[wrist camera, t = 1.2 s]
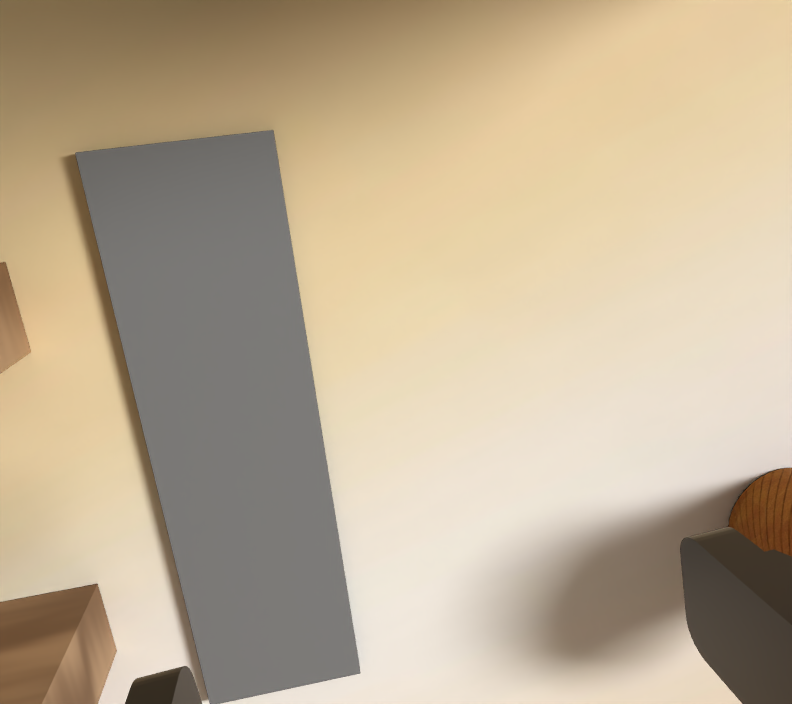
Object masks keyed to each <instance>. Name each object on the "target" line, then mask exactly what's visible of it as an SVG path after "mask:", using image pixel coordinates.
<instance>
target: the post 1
mask: <svg viewBox="0 0 792 704" xmlns="http://www.w3.org/2000/svg"><path fill="white" fill-rule="evenodd" d="M30 352H31V350H30V346H29V343H28V339H27V336H26V333H25V329H24V326H23V322H22V319H21V315H20V312H19V308H18V305H17V301H16V298H15V294H14V291H13V287H12V284H11V280H10V277H9V273H8V270H7V266H6V263H5V262H2V263H0V373H2V372H3V371H5V370H6V369H8V368H9V367H10V366H12V365H13V364H15V363H16V362H18V361H19V360H20V359H22V358H23V357H25V356H26V355H28V354H29V353H30Z"/></svg>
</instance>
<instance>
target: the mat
mask: <svg viewBox="0 0 792 704" xmlns="http://www.w3.org/2000/svg"><path fill="white" fill-rule="evenodd" d="M75 155H76V159H77V163H78V167H79V171H80V175H81V179H82V183H83V187H84V191H85V196H86V200H87V204H88V208H89V212H90V216H91V220H92V224H93V228H94V232H95V236H96V240H97V245H98V249H99V253H100V257H101V261H102V265H103V269H104V273H105V277H106V281H107V285H108V290H109V294H110V298H111V302H112V306H113V310H114V314H115V318H116V322H117V326H118V330H119V334H120V339H121V343H122V347H123V351H124V355H125V359H126V363H127V367H128V371H129V375H130V379H131V384H132V388H133V392H134V396H135V400H136V404H137V408H138V412H139V416H140V420H141V424H142V428H143V433H144V437H145V441H146V445H147V449H148V453H149V457H150V461H151V465H152V469H153V473H154V478H155V482H156V486H157V490H158V494H159V498H160V502H161V506H162V510H163V514H164V518H165V522H166V527H167V531H168V535H169V539H170V543H171V547H172V551H173V555H174V559H175V563H176V567H177V572H178V576H179V580H180V584H181V588H182V592H183V596H184V600H185V604H186V608H187V612H188V617H189V621H190V625H191V629H192V633H193V637H194V641H195V645H196V649H197V653H198V657H199V661H200V666H201V670H202V674H203V678H204V682H205V686H206V690H207V694H208V698H209V702H210V704H220V703H225V702H229V701H234V700H239V699H243V698H248V697H253V696H257V695H262V694H267V693H271V692H276V691H281V690H285V689H290V688H295V687H299V686H304V685H308V684H313V683H318V682H322V681H327V680H332V679H336V678H341V677H346V676H350V675H355V674H360V666H359V660H358V654H357V647H356V641H355V635H354V629H353V623H352V616H351V610H350V604H349V598H348V591H347V585H346V579H345V573H344V567H343V560H342V554H341V548H340V542H339V535H338V529H337V523H336V517H335V511H334V504H333V498H332V492H331V486H330V479H329V473H328V467H327V461H326V455H325V448H324V442H323V436H322V430H321V423H320V417H319V411H318V405H317V399H316V392H315V386H314V380H313V374H312V368H311V361H310V355H309V349H308V343H307V336H306V330H305V324H304V318H303V312H302V305H301V299H300V293H299V287H298V280H297V274H296V268H295V262H294V256H293V249H292V243H291V237H290V231H289V224H288V218H287V212H286V206H285V200H284V193H283V187H282V181H281V175H280V168H279V162H278V156H277V150H276V144H275V137H274V131H273V130H270V131H261V132H252V133H243V134H234V135H226V136H217V137H208V138H199V139H190V140H181V141H173V142H164V143H155V144H146V145H137V146H129V147H120V148H111V149H102V150H93V151H84V152H76V153H75Z"/></svg>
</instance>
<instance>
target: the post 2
mask: <svg viewBox="0 0 792 704" xmlns="http://www.w3.org/2000/svg"><path fill="white" fill-rule="evenodd" d="M116 651H117V650H116V646H115V643H114V640H113V636H112V633H111V629H110V626H109V622H108V619H107V615H106V612H105V608H104V605H103V601H102V598H101V594H100V591H99V587H98V584H95V585H89V586H84V587H79V588H74V589H68V590H63V591H58V592H52V593H47V594H42V595H37V596H31V597H26V598H21V599H15V600H10V601H5V602H0V704H98V701H99V699H100V696H101V693H102V690H103V688H104V685H105V682H106V679H107V676H108V674H109V671H110V668H111V665H112V663H113V660H114V657H115V654H116Z"/></svg>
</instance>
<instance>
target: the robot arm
mask: <svg viewBox="0 0 792 704" xmlns="http://www.w3.org/2000/svg"><path fill="white" fill-rule="evenodd" d="M680 553H681V564H682V576H683V587H684V598H685V609H686V619H687V624H688V628H689V631H690V634H691V637H692V639H693V641H694V644H695V645H696V647H697V649H698V651H699V653H700V654H701V656H702V657H703V658H704V660H705V661H706V662H707V663H708V665H709V666H710V667H711V668H712V669H713V670H714V671H715V673H716V674H717V675H718V676H719V677H720V678H721V679H722V681H723V682H724V683H725V684H726V685H727V686H728V688H729V689H730V690H731V691H732V692H733V693H734V694H735V696H736V697H737V698H738V699H739V700H740V701H741V702H742V704H792V556H789V555H787V554H784V553H782V552H779V551H777V550H774V549H773V550H769V551H765V552H764V551H763V550H762V549H761V548H759V547H758V546H757V545H755V544H754V543H753V542H751V541H750V540H749V539H748V538H746V537H745V536H744V535H742V534H741V533H740V532H738V531H737V530H735V529H734V528H731V527H725V528H721V529H717V530H714V531H710V532H706V533H702V534H698V535H694V536H690V537H687V538H684V539H683V540H682V542H681V547H680ZM125 704H202V702H201V699H200V695H199V692H198V689H197V686H196V683H195V680H194V677H193V674H192V672H191V670H190V669H189V668H188V667H187V666H183V667H179V668H175V669H171V670H168V671H164V672H160V673H156V674H152V675H148V676H144V677H141V678H137V679H135V680H134V682H133V683H132V685H131V688H130V691H129V694H128V697H127V699H126V702H125Z"/></svg>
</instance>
